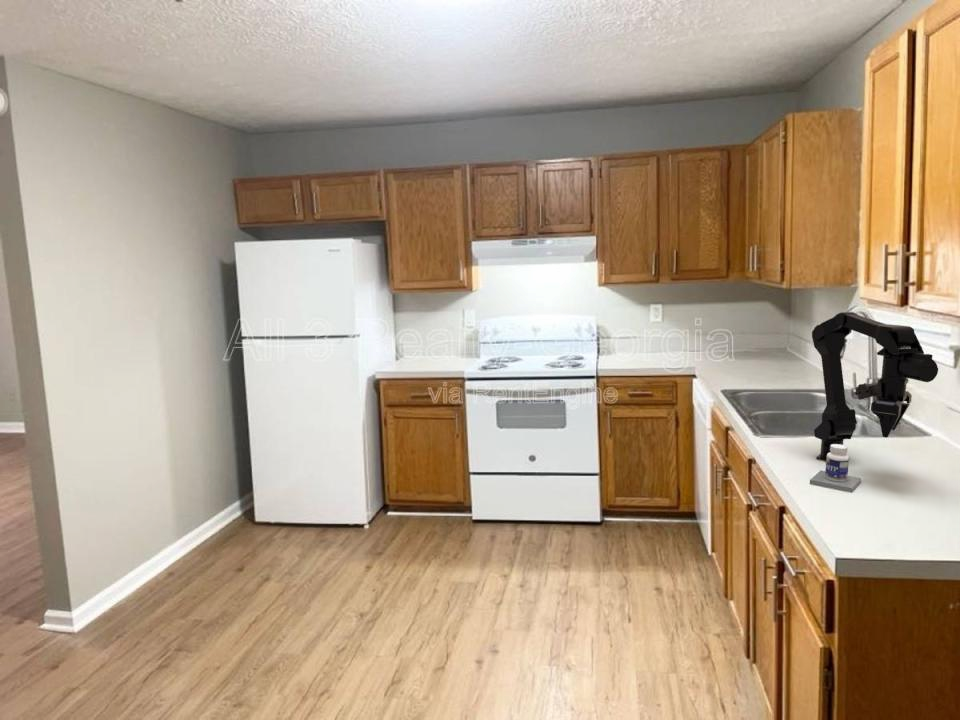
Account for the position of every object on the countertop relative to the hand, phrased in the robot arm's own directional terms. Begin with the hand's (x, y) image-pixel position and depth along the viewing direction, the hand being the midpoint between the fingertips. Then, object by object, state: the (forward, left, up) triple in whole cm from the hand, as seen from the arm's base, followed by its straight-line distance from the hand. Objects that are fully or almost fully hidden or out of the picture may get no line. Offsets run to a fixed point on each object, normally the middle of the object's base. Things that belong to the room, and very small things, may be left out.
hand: (888, 433), depth 185 cm
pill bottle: (+10, -9, -12) cm, 18 cm away
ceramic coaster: (+10, -9, -13) cm, 19 cm away
